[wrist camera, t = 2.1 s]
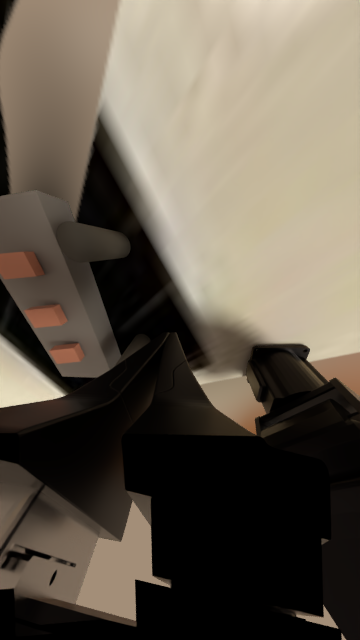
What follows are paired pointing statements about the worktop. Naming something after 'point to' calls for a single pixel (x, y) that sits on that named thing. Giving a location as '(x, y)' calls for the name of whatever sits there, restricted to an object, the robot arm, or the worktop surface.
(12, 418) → the robot arm
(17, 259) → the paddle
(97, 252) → the peg
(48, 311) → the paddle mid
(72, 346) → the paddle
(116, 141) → the worktop surface
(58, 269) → the power strip
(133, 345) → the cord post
